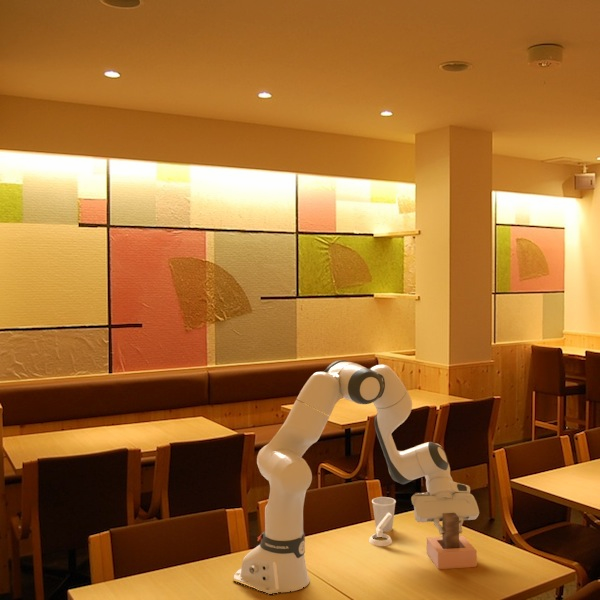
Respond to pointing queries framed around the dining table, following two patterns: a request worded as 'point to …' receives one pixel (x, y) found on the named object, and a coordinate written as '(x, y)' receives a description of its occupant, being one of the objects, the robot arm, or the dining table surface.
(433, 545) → the terracotta well
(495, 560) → the dining table surface
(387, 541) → the white lever
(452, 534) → the walnut block
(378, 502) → the dixie cup
